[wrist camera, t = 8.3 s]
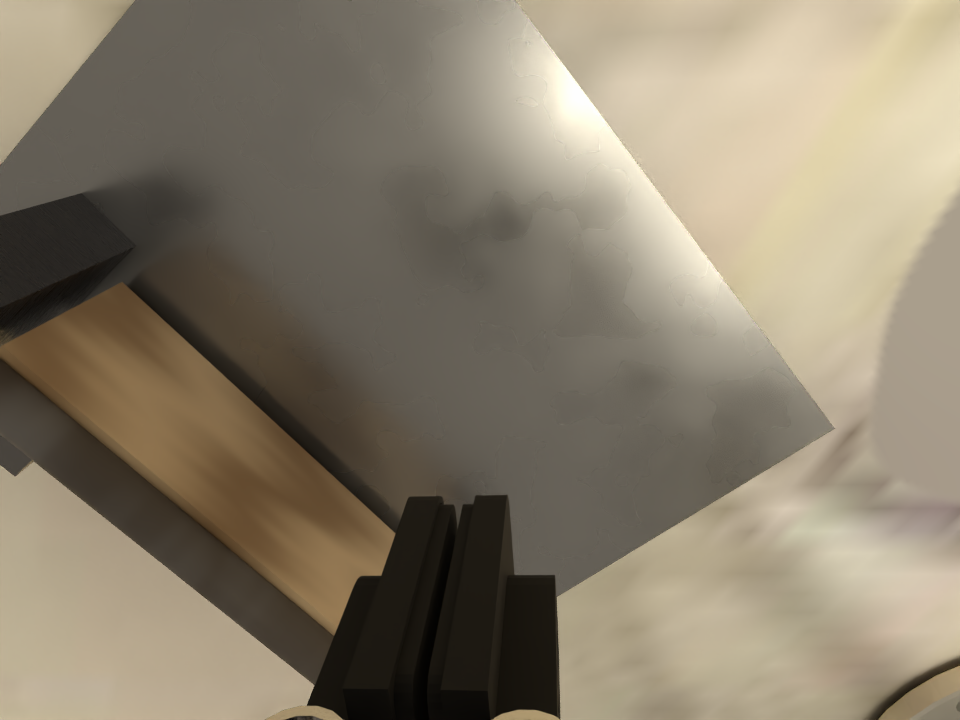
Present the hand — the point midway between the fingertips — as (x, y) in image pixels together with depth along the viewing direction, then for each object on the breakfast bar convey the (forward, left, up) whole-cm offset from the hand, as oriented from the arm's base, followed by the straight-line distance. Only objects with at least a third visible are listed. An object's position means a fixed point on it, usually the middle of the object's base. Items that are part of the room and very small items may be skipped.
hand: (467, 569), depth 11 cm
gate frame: (+2, +3, -10) cm, 11 cm away
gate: (+2, +8, -9) cm, 12 cm away
